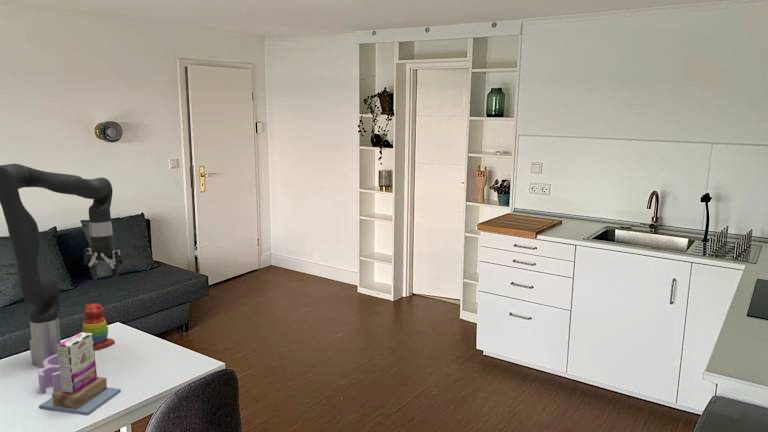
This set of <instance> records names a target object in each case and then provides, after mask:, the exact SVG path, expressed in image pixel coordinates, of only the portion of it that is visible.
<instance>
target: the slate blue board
mask: <svg viewBox="0 0 768 432" xmlns="http://www.w3.org/2000/svg"><path fill="white" fill-rule="evenodd" d="M121 392H122V390H121V388H116V387H115V388H114V387H110V386H109V387H107V389H106V390H105V391H103V392H102V393H100V394H99V395H97V396H96V397H94V398H93V399H92V400H90V401H89V402H87V403H86V404H84V405H83V406H81V407H80V408H78V409H74V408H66V407H59V406H53V398H52V397H50V398H49V399H47V400H46V401H44V402H42V403H40V404H39V405H38V409H39V408H40V409H41V410H46V411H47V410H48V411H55V412H60V413H61V412H62V413H71V414H75V415H76V414H77V415H84V416H89V415H91V414H92V413H93V412H95V411H96V410H97V409H99V408H100V407H102V406H103V405H104V404H106V403H107V402H109V401H110V400H111V399H113V398H114V397H115V396H117V395H118V394H120V393H121Z"/></svg>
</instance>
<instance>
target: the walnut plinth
mask: <svg viewBox="0 0 768 432" xmlns="http://www.w3.org/2000/svg"><path fill="white" fill-rule="evenodd" d="M107 386H108V385H107V378H106V377H104V376H103V377H102V376H97V379H96V380H94V381H93V382H91V383H90V384H88V385H87V386H85V387H83V388H82V389H80V390H79V391H77V392H76V393H65V392H62V388H61V389H60V390H58V391H56V392H55V393H54V392H53V393H51V394H52V395H51V398H53V406H59V407H66V408H74V409H78V408H80V407H81V406H83V405H84V404H86V403H87V402H89V401H90V400H92V399H93V398H94V397H96V396H97V395H99V394H100V393H102V392H103V391H105V390H106V389H107Z"/></svg>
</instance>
